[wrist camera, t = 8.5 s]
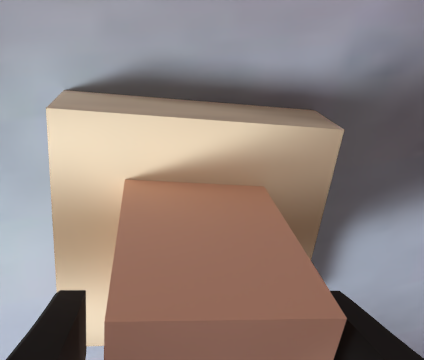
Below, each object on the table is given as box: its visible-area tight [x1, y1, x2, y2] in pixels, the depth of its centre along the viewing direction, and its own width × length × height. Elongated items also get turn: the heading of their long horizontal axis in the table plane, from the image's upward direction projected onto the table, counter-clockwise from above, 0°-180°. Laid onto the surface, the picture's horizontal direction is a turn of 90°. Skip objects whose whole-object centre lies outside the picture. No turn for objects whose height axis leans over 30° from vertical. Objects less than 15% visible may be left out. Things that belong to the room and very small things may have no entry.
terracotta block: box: [104, 179, 347, 360], centre depth 11 cm, size 4×4×6 cm
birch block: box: [46, 90, 344, 346], centre depth 15 cm, size 9×9×3 cm
